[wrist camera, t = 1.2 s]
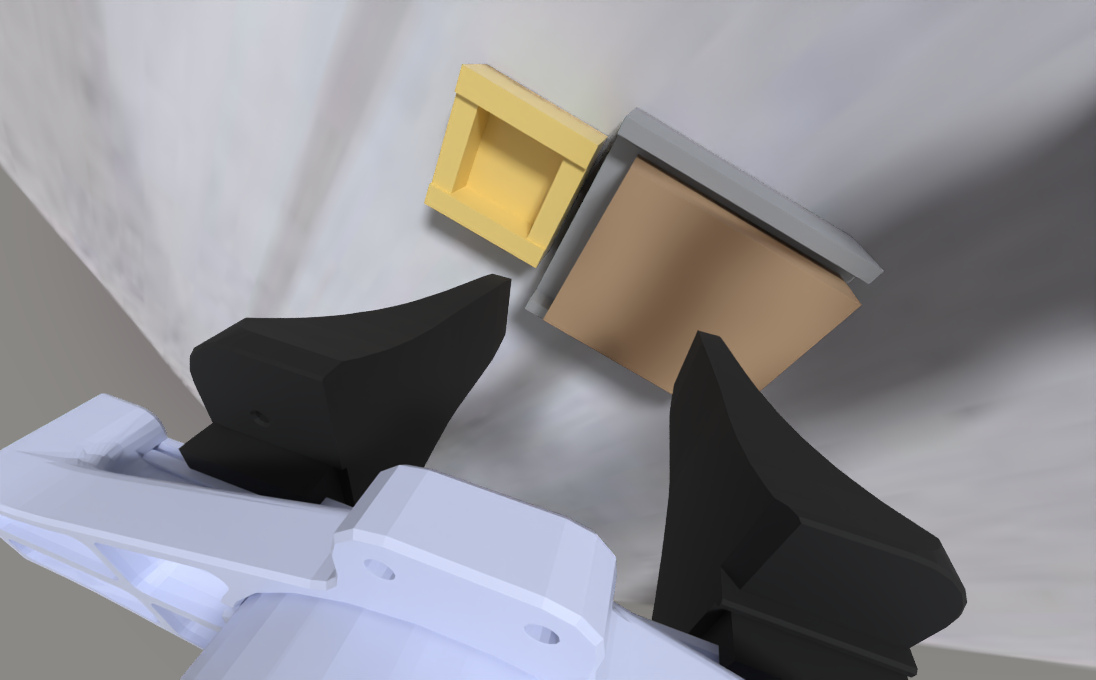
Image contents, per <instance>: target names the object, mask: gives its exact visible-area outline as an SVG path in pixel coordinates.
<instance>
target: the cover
mask: <svg viewBox="0 0 1096 680" xmlns="http://www.w3.org/2000/svg"><path fill="white" fill-rule="evenodd" d="M860 306H861V303H860V302H859V301H858V299H857V298H856V296H855V295H854V294H853V292H852V291H851V289H850V288H849V287H848V285H847V284H846V282H845V281H844V280H843V278H842V277H841V275H840V274H838V273H836V272H835V271H833V270H831V269H830V268H828V267H826V266H825V265H823V264H821V263H820V262H818V261H816V260H815V259H813V258H811V257H810V256H808V255H806V254H805V253H803V252H801V251H800V250H798V249H796V248H795V247H793V246H791V245H789V244H788V243H786V242H784V241H783V240H781V239H779V238H778V237H776V236H774V235H773V234H771V233H769V232H768V231H766V230H764V229H763V228H761V227H759V226H758V225H756V224H754V223H753V222H751V221H749V220H748V219H746V218H744V217H743V216H741V215H739V214H738V213H736V212H734V211H733V210H731V209H729V208H728V207H726V206H724V205H723V204H721V203H719V202H718V201H716V200H714V199H713V198H711V197H709V196H708V195H706V194H704V193H703V192H701V191H699V190H698V189H696V188H694V187H693V186H691V185H689V184H688V183H686V182H684V181H683V180H681V179H679V178H678V177H676V176H674V175H673V174H671V173H669V172H668V171H666V170H664V169H663V168H661V167H659V166H658V165H656V164H654V163H652V162H651V161H649V160H647V159H646V158H644V157H642V156H641V155H639V154H638V155H637V157H636V159H635V160H634V162H633V164H632V166H631V167H630V169H629V171H628V173H627V174H626V176H625V178H624V180H623V181H622V183H621V185H620V187H619V188H618V190H617V192H616V194H615V195H614V197H613V199H612V200H611V202H610V204H609V206H608V207H607V209H606V211H605V213H604V214H603V216H602V218H601V220H600V221H599V223H598V225H597V227H596V228H595V230H594V232H593V233H592V235H591V237H590V239H589V240H588V242H587V244H586V246H585V247H584V249H583V251H582V253H581V254H580V256H579V258H578V260H577V261H576V263H575V265H574V267H573V268H572V270H571V272H570V273H569V275H568V277H567V279H566V280H565V282H564V284H563V286H562V287H561V289H560V291H559V293H558V294H557V296H556V298H555V300H554V301H553V303H552V305H551V307H550V308H549V310H548V312H547V313H546V315H545V317H544V319H543V320H544V321H546V322H547V323H549V324H551V325H553V326H554V327H556V328H558V329H559V330H561V331H563V332H565V333H566V334H568V335H570V336H572V337H573V338H575V339H577V340H579V341H580V342H582V343H584V344H585V345H587V346H589V347H591V348H592V349H594V350H596V351H598V352H599V353H601V354H603V355H605V356H606V357H608V358H610V359H611V360H613V361H615V362H617V363H618V364H620V365H622V366H624V367H625V368H627V369H629V370H631V371H632V372H634V373H636V374H637V375H639V376H641V377H643V378H644V379H646V380H648V381H650V382H651V383H653V384H655V385H657V386H658V387H660V388H662V389H663V390H665V391H667V392H669V393H670V394H672V393H673V387H674V383H675V381H676V379H677V376H678V374H679V372H680V369H681V367H682V365H683V363H684V360H685V358H686V356H687V354H688V351H689V349H690V347H691V344H692V342H693V340H694V338H695V335H696V333H697V331H698V330H699V331H702V332H706V333H710V334H713V335H717V336H720V337H721V338H722V340H723V341H724V342H725V344H726V345H727V347H728V348H729V350H730V351H731V353H732V354H733V355H734V357H735V358H736V360H737V361H738V363H739V364H740V366H741V367H742V368H743V370H744V371H745V373H746V374H747V375H748V377H749V378H750V379H751V381H752V382H753V383H754V385H755V386H756V387H757V389H758V390H759V391H761V390H762V389H763V388H764V387H765V386H767V385H768V384H769V383H770V382H771V381H773V380H774V379H775V378H776V377H777V376H778V375H780V374H781V373H782V372H783V371H784V370H786V369H787V368H788V367H789V366H790V365H791V364H793V363H794V362H795V361H796V360H797V359H799V358H800V357H801V356H802V355H803V354H804V353H806V352H807V351H808V350H809V349H810V348H812V347H813V346H814V345H815V344H816V343H817V342H819V341H820V340H821V339H822V338H823V337H824V336H826V335H827V334H828V333H829V332H830V331H832V330H833V329H834V328H835V327H836V326H837V325H839V324H840V323H841V322H842V321H843V320H845V319H846V318H847V317H848V316H849V315H850V314H852V313H853V312H854V311H855V310H856V309H858V308H859V307H860Z"/></svg>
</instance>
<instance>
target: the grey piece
mask: <svg viewBox="0 0 1096 680" xmlns="http://www.w3.org/2000/svg"><path fill="white" fill-rule="evenodd" d="M617 134H618V136H617V138H616V140H615V142H614V144H613V146H612V147H611V149H610V151H609V153H608V155H607V157H606V159H605V161H604V163H603V164H602V166H601V168H600V170H599V172H598V174H597V176H596V178H595V180H594V181H593V183H592V185H591V187H590V189H589V191H588V193H587V195H586V197H585V198H584V200H583V202H582V204H581V206H580V208H579V210H578V212H577V214H576V215H575V217H574V219H573V221H572V223H571V225H570V227H569V229H568V231H567V232H566V234H565V236H564V238H563V240H562V242H561V244H560V246H559V248H558V249H557V251H556V253H555V255H554V257H553V259H552V261H551V263H550V264H549V266H548V268H547V270H546V272H545V274H544V276H543V278H542V280H541V281H540V283H539V285H538V287H537V289H536V291H535V292H534V294H533V295H532V297H531V298H530V300H529V301H528V303H527V305H526V307H525V309H526V310H528V311H529V312H531V313H533V314H535V315H536V316H538V317H540V318H542V319H544V317H545V315H546V313H547V312H548V310H549V308H550V307H551V305H552V303H553V301H554V300H555V298H556V296H557V294H558V293H559V291H560V289H561V287H562V286H563V284H564V282H565V280H566V279H567V277H568V275H569V273H570V272H571V270H572V268H573V267H574V265H575V263H576V261H577V260H578V258H579V256H580V254H581V253H582V251H583V249H584V247H585V246H586V244H587V242H588V240H589V239H590V237H591V235H592V233H593V232H594V230H595V228H596V227H597V225H598V223H599V221H600V220H601V218H602V216H603V214H604V213H605V211H606V209H607V207H608V206H609V204H610V202H611V200H612V199H613V197H614V195H615V194H616V192H617V190H618V188H619V187H620V185H621V183H622V181H623V180H624V178H625V176H626V174H627V173H628V171H629V169H630V167H631V166H632V164H633V162H634V160H635V159H636V157H637V155H638V154H639V155H641V156H642V157H644V158H646V159H647V160H649V161H651V162H652V163H654V164H656V165H658V166H659V167H661V168H663V169H664V170H666V171H668V172H669V173H671V174H673V175H674V176H676V177H678V178H679V179H681V180H683V181H684V182H686V183H688V184H689V185H691V186H693V187H694V188H696V189H698V190H699V191H701V192H703V193H704V194H706V195H708V196H709V197H711V198H713V199H714V200H716V201H718V202H719V203H721V204H723V205H724V206H726V207H728V208H729V209H731V210H733V211H734V212H736V213H738V214H739V215H741V216H743V217H744V218H746V219H748V220H749V221H751V222H753V223H754V224H756V225H758V226H759V227H761V228H763V229H764V230H766V231H768V232H769V233H771V234H773V235H774V236H776V237H778V238H779V239H781V240H783V241H784V242H786V243H788V244H789V245H791V246H793V247H795V248H796V249H798V250H800V251H801V252H803V253H805V254H806V255H808V256H810V257H811V258H813V259H815V260H816V261H818V262H820V263H821V264H823V265H825V266H826V267H828V268H830V269H831V270H833V271H835V272H836V273H838V274H840V275H841V277H842V278H843V280H844V281H845V282H846V284H849V283H850V282H851V281H852V280H853V279H854V278H855V277H858V278H859V279H861V280H863V281H864V282H866V283H868V284H870V283H871V282H873V281H874V280H875V279H876V278H877V277H878V276H879V275H881V274H882V273H883V272H884V270H883V269H882V268H881V267H880V266H879V265H878V264H877V263H876V262H875V261H874V260H873V259H872V258H871V257H870V256H869V255H868V253H867V252H866V251H865V250H864V249H863V248H862V247H861V246H860V245H859V244H858V243H857V242H856V241H855V240H854V239H853V238H852V237H851V236H850V235H848V234H846V233H845V232H843V231H841V230H840V229H838V228H836V227H835V226H833V225H831V224H830V223H828V222H826V221H825V220H823V219H821V218H820V217H818V216H816V215H815V214H813V213H811V212H810V211H808V210H806V209H805V208H803V207H801V206H800V205H798V204H796V203H795V202H793V201H791V200H790V199H788V198H787V197H785V196H783V195H782V194H780V193H778V192H777V191H775V190H773V189H772V188H770V187H768V186H767V185H765V184H763V183H762V182H760V181H758V180H757V179H755V178H753V177H752V176H750V175H748V174H747V173H745V172H743V171H742V170H740V169H738V168H737V167H735V166H733V165H732V164H730V163H728V162H727V161H725V160H723V159H722V158H720V157H719V156H717V155H715V154H714V153H712V152H710V151H709V150H707V149H705V148H704V147H702V146H700V145H699V144H697V143H695V142H694V141H692V140H690V139H689V138H687V137H685V136H684V135H682V134H680V133H679V132H677V131H675V130H674V129H672V128H670V127H669V126H667V125H665V124H664V123H662V122H660V121H659V120H657V119H656V118H654V117H652V116H651V115H649V114H647V113H646V112H644V111H642V110H641V109H639V108H636V109H634V110H633V111H632V112H631V113H629V114H628V115H627V116H626V117H625V119H624V121H623V123H622V125H621V127H620V129H619V131H618V133H617Z"/></svg>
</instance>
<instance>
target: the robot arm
mask: <svg viewBox="0 0 1096 680" xmlns="http://www.w3.org/2000/svg"><path fill="white" fill-rule="evenodd" d="M510 288H511V279H510V278H506V277H502V276H499V275H495V274H490V275H487V276H484V277H481V278H478V279H476V280H473V281H470V282H468V283H465V284H463V285H460V286H457V287H455V288H452V289H449V290H447V291H444V292H441V293H438V294H435V295H432V296H429V297H426V298H423V299H420V300H417V301H413V302H410V303H406V304H402V305H398V306H393V307H389V308H384V309H379V310H373V311H366V312H359V313H353V314H346V315H336V316H325V317H309V318H245V319H243V320H241V321H239V322H237V323H236V324H234V325H232V326H231V327H229V328H227V329H226V330H224V331H222V332H220V333H219V334H217V335H215V336H214V337H212V338H210V339H208V340H207V341H205V342H203V343H202V344H200V345H198V346H197V347H195V348H194V349H193V351H192V353H191V355H190V372H191V375H192V378H193V381H194V384H195V386H196V388H197V390H198V392H199V394H200V396H201V399H202V401H203V403H204V405H205V407H206V409H207V411H208V414H209V416H210V418H211V420H212V422H213V423H212V424H211V425H209V426H208V427H207V428H205V429H204V430H203V431H201V432H200V433H199V434H197V435H196V436H195V437H193V438H192V439H191V440H189V441H188V442H187V443H185V444H184V443H181V442H179V441H176V440H173V439H171V438H168V437H167V432H166V430H165V428H164V426H163V424H162V422H161V421H160V420H159V418H158V417H157V416H156V415H155V414H153V413H152V412H151V411H150V410H148V409H146V408H144V407H142V406H139V405H137V404H134V403H131V402H128V401H126V400H123V399H120V398H117V397H115V396H112V395H109V394H100V395H98V396H96V397H95V398H93V399H91V400H89V401H87V402H86V403H84V404H82V405H80V406H79V407H77V408H75V409H73V410H71V411H69V412H68V413H66V414H64V415H62V416H61V417H59V418H57V419H56V420H53V421H52V422H50V423H48V424H46V425H44V426H43V427H41V428H39V429H37V430H36V431H34V432H32V433H30V434H29V435H27V436H25V437H23V438H22V439H19V440H18V441H16V442H14V443H12V444H11V445H9V446H7V447H5V448H4V449H2V450H0V537H1V538H2V539H3V540H4V541H5V542H6V543H8V544H9V545H10V546H11V547H12V548H13V549H15V550H16V551H17V552H18V553H19V554H21V555H22V556H23V557H24V558H25V559H27V560H29V561H31V562H34V563H36V564H38V565H40V566H42V567H44V568H46V569H48V570H51V571H53V572H55V573H57V574H59V575H61V576H63V577H65V578H67V579H69V580H71V581H73V582H75V583H77V584H79V585H81V586H83V587H85V588H87V589H89V590H91V591H93V592H95V593H97V594H99V595H101V596H103V597H105V598H107V599H109V600H111V601H113V602H114V603H117V604H118V605H120V606H122V607H124V608H126V609H128V610H130V611H131V612H133V613H135V614H137V615H139V616H141V617H143V618H144V619H146V620H149V621H150V622H152V623H154V624H156V625H157V626H160V627H161V628H163V629H165V630H167V631H169V632H171V633H173V634H174V635H176V636H178V637H180V638H182V639H184V640H185V641H187V642H189V643H191V644H193V645H195V646H196V647H198V648H200V649H202V650H203V652H202V653H201V654H200V655H199V657H198V658H197V659H196V660H195V661H194V663H193V664H192V665H191V666H190V667H189V669H188V670H187V671H186V672H185V673H184V675H183V676H182V677H181V678H180V679H179V680H908V678H907V676H909V677H913V676H915V675H917V666H916V664H915V661H914V658H913V656H912V653H911V650H910V647H912V646H914V645H916V644H918V643H919V642H921V641H923V640H925V639H926V638H928V637H930V636H932V635H934V634H935V633H937V632H939V631H941V630H942V629H944V628H946V627H947V626H949V625H950V624H951V623H952V622H954V621H955V620H956V619H957V618H959V616H960V615H961V614H962V612H963V610H964V608H965V606H966V604H967V598H966V591H965V588H964V586H963V584H962V582H961V580H960V578H959V576H958V574H957V572H956V571H955V569H954V567H953V565H952V563H951V561H950V559H949V557H948V555H947V553H946V551H945V550H944V548H943V546H942V544H941V542H940V540H939V539H938V538H937V537H935V536H934V535H932V534H931V533H929V532H928V531H926V530H925V529H923V528H921V527H920V526H918V525H917V524H915V523H914V522H912V521H911V520H909V519H908V518H906V517H905V516H903V515H902V514H900V513H898V512H897V511H895V510H894V509H892V508H891V507H889V506H888V505H886V504H885V503H883V502H882V501H880V500H879V499H878V498H876V497H875V496H873V495H872V494H871V493H869V492H868V491H867V490H865V489H864V488H863V487H861V486H860V485H859V484H857V483H856V482H854V481H853V480H852V479H850V478H849V477H848V476H847V475H845V474H844V473H843V472H842V471H840V470H839V469H838V468H836V467H835V466H834V465H833V464H832V463H831V462H829V461H828V460H827V459H826V458H825V457H824V456H822V455H821V454H820V453H819V452H818V451H817V450H815V449H814V448H813V447H812V446H811V445H810V444H809V443H808V442H806V441H805V440H804V439H803V438H802V437H801V436H800V435H799V434H798V433H797V432H796V431H795V430H794V429H793V428H792V427H791V426H790V425H789V424H788V423H787V422H786V421H785V420H784V419H783V418H782V417H781V416H780V415H779V413H778V412H777V411H776V410H775V409H774V408H773V407H772V405H771V404H770V403H769V402H768V401H767V400H766V398H765V397H764V396H763V395H762V394H761V392H760V391H759V390H758V389H757V387H756V386H755V385H754V383H753V382H752V381H751V379H750V378H749V377H748V375H747V374H746V373H745V371H744V370H743V368H742V367H741V366H740V364H739V363H738V361H737V360H736V358H735V357H734V355H733V354H732V353H731V351H730V350H729V348H728V347H727V345H726V344H725V342H724V341H723V340H722V338H721V337H720V336H717V335H713V334H710V333H706V332H702V331H699V330H698V331H697V333H696V335H695V338H694V340H693V342H692V344H691V347H690V349H689V351H688V354H687V356H686V358H685V360H684V363H683V365H682V367H681V369H680V372H679V374H678V376H677V379H676V381H675V383H674V387H673V393H672V400H671V407H670V484H669V499H668V508H667V517H666V525H665V533H664V541H663V549H662V556H661V563H660V570H659V577H658V584H657V590H656V597H655V604H654V610H653V616H652V620H650V619H647V618H644V617H641V616H639V615H636V614H634V613H632V612H630V611H629V610H627V609H625V608H624V607H622V606H620V605H619V604H617V603H615V602H614V601H613V598H614V591H615V584H616V577H617V571H616V556H615V555H614V554H613V553H612V551H611V550H610V549H609V548H608V547H607V545H606V544H605V543H604V542H603V541H602V540H601V539H600V537H599V536H598V535H597V534H596V533H595V532H594V531H593V530H591V529H589V528H587V527H585V526H583V525H582V524H580V523H578V522H576V521H574V520H572V519H570V518H568V517H567V516H564V515H561V514H558V513H555V512H552V511H550V510H547V509H544V508H541V507H538V506H535V505H533V504H530V503H527V502H524V501H521V500H518V499H516V498H513V497H510V496H507V495H504V494H501V493H499V492H496V491H493V490H490V489H487V488H484V487H482V486H479V485H476V484H473V483H470V482H467V481H465V480H462V479H459V478H456V477H453V476H450V475H448V474H445V473H442V472H439V471H436V470H433V469H429V468H424V466H425V464H426V462H427V460H428V459H429V457H430V455H431V453H432V451H433V449H434V447H435V445H436V444H437V442H438V440H439V438H440V436H441V435H442V433H443V431H444V429H445V428H446V426H447V424H448V422H449V420H450V419H451V417H452V416H453V414H454V413H455V411H456V410H457V408H458V407H459V405H460V404H461V403H462V401H463V400H464V399H465V397H466V396H467V394H468V393H469V392H470V390H471V389H472V388H473V386H474V385H475V383H476V382H477V381H478V379H479V378H480V376H481V375H482V374H483V372H484V371H485V369H486V368H487V367H488V365H489V364H490V362H491V361H492V359H493V358H494V356H495V354H496V352H497V350H498V348H499V346H500V344H501V342H502V340H503V338H504V336H505V333H506V324H507V315H508V306H509V297H510Z"/></svg>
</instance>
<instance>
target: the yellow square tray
mask: <svg viewBox="0 0 1096 680" xmlns="http://www.w3.org/2000/svg"><path fill="white" fill-rule="evenodd" d="M455 92H456V97H455V100H454V104H453V107H452V111H451V115H450V118H449V122H448V126H447V129H446V133H445V136H444V140H443V144H442V147H441V151H440V155H439V158H438V162H437V165H436V169H435V173H434V176H433V180H432V183H430V184H429V187H428V191H427V195H426V198H425V202H424V203H425V204H426V205H428V206H430V207H431V208H433V209H435V210H437V211H438V212H440V213H442V214H444V215H445V216H447V217H449V218H450V219H452V220H454V221H456V222H457V223H459V224H461V225H462V226H464V227H466V228H468V229H469V230H471V231H473V232H474V233H476V234H478V235H480V236H481V237H483V238H485V239H487V240H488V241H490V242H492V243H493V244H495V245H497V246H499V247H500V248H502V249H504V250H505V251H507V252H509V253H511V254H512V255H514V256H516V257H517V258H519V259H521V260H523V261H524V262H526V263H528V264H529V265H531V266H533V267H535V268H536V267H537V266H538V265H539V263H540V262H541V261H542V259H543V258H544V257H545V255H546V254H547V253H548V251H549V250H550V248H551V246H552V244H553V242H554V240H555V238H556V237H557V235H558V233H559V231H560V229H561V227H562V225H563V223H564V221H565V219H566V217H567V215H568V213H569V211H570V209H571V207H572V206H573V204H574V202H575V200H576V198H577V196H578V194H579V192H580V190H581V188H582V186H583V184H584V182H585V180H586V178H587V176H588V175H589V173H590V171H591V169H592V167H593V165H594V163H595V161H596V159H597V157H598V155H599V153H600V151H601V149H602V147H603V146H604V144H605V142H606V140H607V138H608V136H606V135H604V134H603V133H601V132H599V131H598V130H596V129H594V128H593V127H591V126H589V125H588V124H586V123H584V122H583V121H581V120H579V119H578V118H576V117H574V116H573V115H571V114H569V113H568V112H566V111H564V110H563V109H561V108H559V107H558V106H556V105H554V104H553V103H551V102H549V101H547V100H546V99H544V98H542V97H541V96H539V95H537V94H536V93H534V92H532V91H531V90H529V89H527V88H526V87H524V86H522V85H521V84H519V83H517V82H516V81H514V80H512V79H511V78H509V77H507V76H506V75H504V74H502V73H501V72H499V71H497V70H496V69H494V68H492V67H491V66H489V65H487V64H462V67H461V70H460V74H459V78H458V81H457V85H456V89H455Z"/></svg>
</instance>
